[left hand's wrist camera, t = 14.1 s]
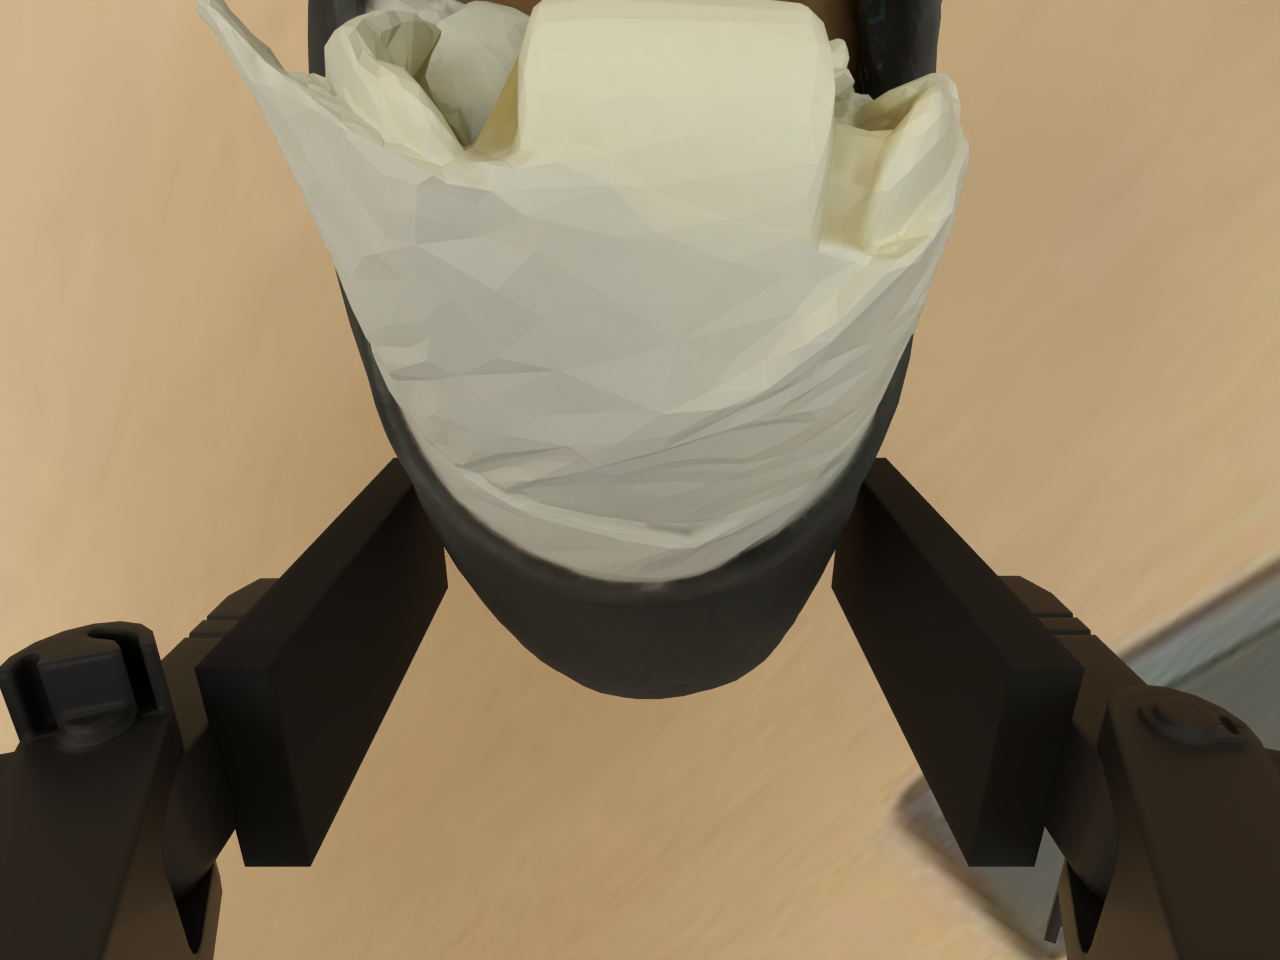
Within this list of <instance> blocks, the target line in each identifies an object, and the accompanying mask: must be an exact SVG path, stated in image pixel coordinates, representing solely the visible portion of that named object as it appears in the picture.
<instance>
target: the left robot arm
mask: <svg viewBox="0 0 1280 960" xmlns="http://www.w3.org/2000/svg"><path fill="white" fill-rule="evenodd" d="M447 588H448V582H447V572H446V563H445V553H444V546H443V544H442V542H441V541H440V539H439V538H438V536H437V534H436V533H435V531H434V529H433V527H432V525H431V523H430V521H429V520H428V518H427V516H426V514H425V512H424V510H423V508H422V506H421V504H420V502H419V499H418V496H417V493H416V491H415V488H414V485H413V483H412V481H411V479H410V477H409V476H408V474H407V472H406V471H405V469H404V468H403V466H402V464H401V463H400V461H399V459H398V458H393V459H392V460H391V461H390V462H389V463H388V464H387V466H386V467H385V468H384V469H383V470H382V471H381V472H380V473H379V474H378V475H377V476H376V477H375V478H374V479H373V480H372V481H371V482H370V483H369V484H368V486H367V487H366V488H365V489H364V490H363V491H362V492H361V493H360V494H359V495H358V496H357V497H356V498H355V499H354V500H353V501H352V502H351V503H350V504H349V506H348V507H347V508H346V509H345V510H344V511H343V512H342V513H341V514H340V515H339V516H338V517H337V518H336V519H335V520H334V521H333V522H332V523H331V524H330V526H329V527H328V528H327V529H326V530H325V531H324V532H323V533H322V534H321V535H320V536H319V537H318V538H317V539H316V540H315V541H314V542H313V543H312V545H311V546H310V547H309V548H308V549H307V550H306V551H305V552H304V553H303V554H302V555H301V556H300V557H299V558H298V559H297V560H296V561H295V562H294V563H293V565H292V566H291V567H290V568H289V569H288V570H287V571H286V572H285V573H284V574H283V575H282V576H281V577H280V578H260V579H258V580H256V581H255V582H253V583H251V584H249V585H247V586H245V587H244V588H242V589H240V590H238V591H236V592H234V593H233V594H231V595H229V596H228V597H227V598H226V599H225V600H224V601H222V602H221V603H220V604H219V605H218V606H217V607H216V608H215V609H214V610H213V611H212V612H211V613H210V614H209V615H208V616H207V620H203V621H202V622H201V623H200V624H199V625H198V626H197V627H196V628H194V629H193V630H192V631H191V632H190V636H189V638H184V639H183V640H182V641H181V642H180V643H179V644H178V645H177V646H176V647H175V648H174V649H173V650H172V651H171V652H170V653H169V654H168V655H167V656H165V657H164V658H163V659H162V660H161V659H160V656H159V652H158V649H157V645H156V641H155V638H154V634H153V631H152V630H150V629H148V628H147V627H145V626H144V625H142V624H138V623H130V622H122V621H118V622H108V623H97V624H91V625H87V626H83V627H79V628H75V629H71V630H67V631H63V632H60V633H58V634H55V635H53V636H50V637H48V638H45V639H43V640H40V641H37V642H35V643H33V644H31V645H30V646H28V647H26V648H25V649H23V650H21V651H19V652H18V653H16V654H14V655H12V656H11V657H9V658H8V659H7V660H6V661H5V662H4V663H3V664H2V665H1V666H0V689H1V692H2V694H3V697H4V700H5V703H6V705H7V708H8V711H9V713H10V716H11V719H12V721H13V724H14V727H15V729H16V732H17V735H18V738H19V740H20V743H19V744H18V746H17V748H16V750H15V752H11V753H6V754H0V960H213V956H214V949H215V942H216V934H217V927H218V919H219V912H220V904H221V897H222V887H221V880H220V875H219V871H218V867H217V864H216V858H217V857H218V855H219V853H220V852H221V850H222V849H223V847H224V846H225V844H226V843H227V841H228V839H229V838H230V836H231V835H232V833H233V832H234V830H235V829H236V833H237V837H238V841H239V845H240V849H241V853H242V857H243V861H244V865H245V867H310V866H311V864H312V862H313V860H314V858H315V856H316V854H317V852H318V850H319V848H320V846H321V844H322V842H323V840H324V838H325V836H326V834H327V832H328V830H329V828H330V826H331V824H332V822H333V820H334V818H335V816H336V814H337V812H338V810H339V808H340V806H341V804H342V802H343V800H344V797H345V795H346V793H347V791H348V789H349V787H350V785H351V783H352V781H353V779H354V777H355V775H356V773H357V771H358V769H359V767H360V765H361V763H362V761H363V759H364V757H365V755H366V753H367V751H368V749H369V747H370V745H371V743H372V741H373V739H374V737H375V735H376V733H377V731H378V728H379V726H380V724H381V722H382V720H383V718H384V716H385V714H386V712H387V710H388V708H389V706H390V704H391V702H392V700H393V698H394V696H395V694H396V692H397V690H398V688H399V686H400V684H401V682H402V680H403V678H404V676H405V674H406V672H407V670H408V668H409V666H410V664H411V662H412V659H413V657H414V655H415V653H416V651H417V649H418V647H419V645H420V643H421V641H422V639H423V637H424V635H425V633H426V631H427V629H428V627H429V625H430V623H431V621H432V619H433V617H434V615H435V613H436V611H437V609H438V607H439V605H440V603H441V601H442V599H443V597H444V595H445V593H446V590H447ZM832 589H833V591H834V593H835V596H836V598H837V600H838V602H839V604H840V606H841V608H842V610H843V612H844V614H845V616H846V618H847V620H848V622H849V624H850V626H851V628H852V630H853V632H854V634H855V636H856V638H857V640H858V642H859V644H860V646H861V648H862V650H863V652H864V654H865V656H866V658H867V660H868V663H869V665H870V667H871V669H872V671H873V673H874V675H875V677H876V679H877V681H878V683H879V685H880V687H881V689H882V691H883V693H884V695H885V697H886V699H887V701H888V703H889V705H890V707H891V709H892V711H893V713H894V715H895V717H896V719H897V721H898V723H899V725H900V727H901V730H902V732H903V734H904V736H905V738H906V740H907V742H908V744H909V746H910V748H911V750H912V752H913V754H914V756H915V758H916V760H917V762H918V764H919V766H920V768H921V770H922V772H923V774H924V776H925V778H926V780H927V782H928V784H929V786H930V788H931V790H932V792H933V794H934V797H935V799H936V801H937V803H938V805H939V807H940V809H941V811H942V813H943V815H944V817H945V819H946V821H947V823H948V825H949V827H950V829H951V831H952V833H953V835H954V837H955V839H956V841H957V843H958V845H959V847H960V849H961V851H962V853H963V855H964V857H965V859H966V861H967V864H968V866H969V867H1034V866H1035V862H1036V858H1037V854H1038V850H1039V847H1040V843H1041V839H1042V835H1043V831H1044V827H1046V829H1047V830H1048V832H1049V833H1050V835H1051V836H1052V838H1053V839H1054V841H1055V843H1056V844H1057V846H1058V847H1059V849H1060V850H1061V852H1062V853H1063V855H1064V856H1065V860H1064V864H1063V867H1062V871H1061V875H1060V878H1059V882H1058V886H1057V889H1056V893H1055V896H1054V900H1053V904H1052V907H1051V911H1050V915H1049V918H1048V922H1047V927H1046V933H1045V939H1044V940H1046V941H1049V942H1052V943H1056V940H1057V936H1058V933H1059V929H1060V927H1061V926H1063V932H1064V939H1065V947H1066V954H1067V960H1280V751H1277V750H1272V749H1267V748H1264V747H1263V745H1262V743H1261V741H1260V740H1259V739H1258V737H1257V736H1256V735H1255V734H1254V733H1253V732H1252V730H1251V729H1250V728H1249V727H1248V726H1247V725H1246V724H1245V723H1244V722H1242V721H1241V720H1239V719H1238V718H1237V717H1235V716H1234V715H1232V714H1231V713H1229V712H1228V711H1226V710H1225V709H1223V708H1222V707H1219V706H1217V705H1215V704H1213V703H1211V702H1208V701H1206V700H1204V699H1202V698H1200V697H1198V696H1195V695H1192V694H1189V693H1185V692H1182V691H1178V690H1175V689H1171V688H1167V687H1160V686H1150V685H1147V684H1146V683H1145V682H1144V681H1143V680H1142V679H1141V678H1140V677H1139V676H1138V675H1136V674H1135V673H1134V672H1133V671H1132V670H1131V669H1130V668H1129V667H1128V666H1127V665H1126V664H1125V663H1124V662H1123V661H1122V660H1121V659H1120V658H1119V657H1118V656H1117V655H1116V654H1115V653H1114V652H1112V651H1111V650H1110V649H1109V648H1108V647H1107V646H1106V645H1105V644H1104V643H1103V642H1102V641H1101V640H1100V639H1099V638H1098V637H1097V636H1096V635H1091V633H1090V632H1091V630H1090V629H1088V628H1087V627H1086V626H1085V625H1084V624H1083V623H1082V622H1081V621H1080V620H1079V619H1078V618H1073V613H1072V612H1071V611H1070V610H1069V609H1068V608H1067V607H1065V606H1064V605H1063V604H1062V603H1061V602H1060V601H1059V600H1058V599H1057V598H1056V597H1055V596H1054V595H1053V594H1052V593H1050V592H1048V591H1047V590H1045V589H1043V588H1041V587H1039V586H1037V585H1036V584H1034V583H1032V582H1030V581H1028V580H1026V579H1024V578H1023V577H1021V576H997V575H996V574H995V572H994V571H993V570H992V569H991V568H990V567H989V566H988V565H987V564H986V563H985V562H984V561H983V560H982V559H981V558H980V557H979V556H978V555H977V554H976V552H975V551H974V550H973V549H972V548H971V547H970V546H969V545H968V544H967V543H966V542H965V541H964V540H963V539H962V538H961V537H960V536H959V535H958V534H957V532H956V531H955V530H954V529H953V528H952V527H951V526H950V525H949V524H948V523H947V522H946V521H945V520H944V519H943V518H942V517H941V516H940V515H939V513H938V512H937V511H936V510H935V509H934V508H933V507H932V506H931V505H930V504H929V503H928V502H927V501H926V500H925V499H924V498H923V497H922V496H921V495H920V493H919V492H918V491H917V490H916V489H915V488H914V487H913V486H912V485H911V484H910V483H909V482H908V481H907V480H906V479H905V478H904V477H903V476H902V474H901V473H900V472H899V471H898V470H897V469H896V468H895V467H894V466H893V465H892V464H891V463H890V462H889V461H888V460H887V459H886V458H875V460H874V462H873V464H872V467H871V468H870V470H869V472H868V473H867V475H866V477H865V479H864V480H863V482H862V485H861V488H860V491H859V494H858V497H857V500H856V503H855V506H854V509H853V512H852V514H851V517H850V520H849V522H848V523H847V525H846V527H845V529H844V531H843V533H842V536H841V538H840V540H839V542H838V544H837V546H836V549H835V558H834V568H833V577H832Z"/></svg>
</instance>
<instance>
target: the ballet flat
mask: <svg viewBox="0 0 1280 960" xmlns="http://www.w3.org/2000/svg"><path fill="white" fill-rule="evenodd" d="M941 2H942V0H309V2H308V57H309V74H308V75H305V74H303V73H296V72H286V71H285V70H284V68H283V67H282V65H281V64H280V63H279V61H278V60H277V58H276V57H275V55H274V54H273V52H272V51H271V49H270V48H269V47H268V46H267V45H265V44H264V43H263V42H262V41H260V40H259V39H258V38H256V37H255V36H254V35H253V34H252V33H251V32H250V31H249V30H248V29H247V28H246V26H245V25H244V24H243V23H242V22H241V21H240V20H239V19H238V18H237V17H236V16H235V15H234V13H233V12H232V11H231V10H230V9H229V8H228V6H227V5H226V3H225V1H224V0H198V2H197V9H196V11H197V12H198V14H199V15H200V16H201V17H202V18H203V19H204V21H205V22H206V23H207V24H208V25H209V27H210V28H211V29H212V30H213V32H214V33H215V35H216V37H217V38H218V40H219V41H220V43H221V44H222V46H223V47H224V49H225V50H226V52H227V53H228V55H229V56H230V58H231V59H232V61H233V62H234V64H235V65H236V67H237V68H238V70H239V72H240V74H241V75H242V77H243V79H244V81H245V83H246V84H247V86H248V88H249V90H250V92H251V93H252V95H253V97H254V99H255V101H256V103H257V104H258V106H259V108H260V110H261V112H262V113H263V115H264V117H265V119H266V121H267V122H268V124H269V126H270V128H271V130H272V132H273V134H274V136H275V138H276V141H277V143H278V145H279V147H280V149H281V151H282V153H283V156H284V158H285V160H286V162H287V164H288V166H289V168H290V171H291V173H292V175H293V177H294V179H295V181H296V183H297V186H298V188H299V190H300V192H301V194H302V196H303V198H304V201H305V203H306V205H307V207H308V209H309V211H310V213H311V216H312V218H313V220H314V222H315V224H316V226H317V228H318V231H319V233H320V235H321V237H322V239H323V241H324V243H325V245H326V248H327V250H328V252H329V254H330V257H331V259H332V261H333V263H334V266H335V269H336V274H337V277H338V281H339V285H340V288H341V292H342V296H343V300H344V303H345V307H346V311H347V315H348V318H349V322H350V325H351V328H352V331H353V334H354V337H355V340H356V343H357V346H358V349H359V352H360V355H361V358H362V361H363V364H364V367H365V370H366V373H367V376H368V379H369V383H370V387H371V390H372V394H373V398H374V402H375V405H376V408H377V411H378V413H379V416H380V419H381V422H382V424H383V427H384V430H385V432H386V435H387V437H388V439H389V441H390V443H391V445H392V447H393V449H394V451H395V453H396V455H397V457H398V459H399V461H400V463H401V464H402V466H403V468H404V469H405V471H406V472H407V474H408V476H409V477H410V479H411V481H412V483H413V485H414V488H415V491H416V493H417V496H418V499H419V502H420V504H421V506H422V508H423V510H424V512H425V514H426V516H427V518H428V520H429V521H430V523H431V525H432V527H433V529H434V531H435V533H436V534H437V536H438V538H439V539H440V541H441V542H442V544H443V546H444V547H445V549H446V550H447V552H448V554H449V555H450V557H451V559H452V560H453V562H454V563H455V565H456V567H457V568H458V570H459V571H460V572H461V573H462V575H463V576H464V577H465V579H466V580H467V581H468V583H469V584H470V585H471V587H472V588H473V589H474V591H475V592H476V593H477V595H478V596H479V597H480V599H481V600H482V601H483V603H484V604H485V605H486V606H487V608H488V609H489V610H490V611H491V612H492V613H493V615H494V616H495V617H496V618H497V619H498V621H499V622H500V623H501V624H502V625H503V626H504V627H505V628H506V629H508V630H509V631H510V632H511V633H512V634H513V635H514V636H515V637H516V638H517V640H518V641H519V642H520V643H521V644H522V645H523V646H524V647H525V648H526V649H528V650H529V651H530V652H531V653H532V654H534V655H535V656H536V657H537V658H538V659H539V660H540V661H542V662H543V663H545V664H547V665H548V666H550V667H552V668H553V669H555V670H556V671H558V672H560V673H562V674H564V675H566V676H567V677H569V678H571V679H573V680H574V681H576V682H578V683H579V684H581V685H583V686H585V687H587V688H590V689H592V690H595V691H597V692H600V693H604V694H609V695H614V696H620V697H625V698H634V699H663V698H671V697H679V696H686V695H689V694H693V693H697V692H701V691H705V690H710V689H713V688H716V687H719V686H722V685H725V684H728V683H731V682H733V681H736V680H738V679H739V678H741V677H742V676H744V675H745V674H747V673H748V672H750V671H751V670H753V669H754V668H755V667H757V666H758V665H759V664H761V663H762V662H763V661H765V659H766V658H767V657H768V656H769V655H770V654H771V653H772V651H773V650H774V649H775V648H776V647H777V645H778V644H779V643H780V642H781V640H782V639H783V637H784V635H785V634H786V633H787V631H788V630H789V629H790V628H791V626H792V625H793V624H794V622H795V620H796V618H797V616H798V615H799V613H800V611H801V610H802V608H803V607H804V605H805V603H806V602H807V600H808V598H809V596H810V595H811V593H812V591H813V590H814V588H815V586H816V585H817V583H818V581H819V579H820V578H821V576H822V574H823V572H824V570H825V568H826V566H827V564H828V562H829V560H830V558H831V556H832V554H833V553H834V551H835V548H836V546H837V544H838V542H839V540H840V538H841V536H842V533H843V531H844V529H845V527H846V525H847V523H848V522H849V520H850V517H851V514H852V512H853V509H854V506H855V503H856V500H857V497H858V494H859V491H860V488H861V485H862V482H863V480H864V479H865V477H866V475H867V473H868V472H869V470H870V468H871V467H872V464H873V462H874V460H875V458H876V456H877V453H878V451H879V449H880V447H881V445H882V442H883V440H884V438H885V435H886V433H887V430H888V428H889V425H890V423H891V420H892V418H893V415H894V413H895V410H896V408H897V405H898V403H899V399H900V395H901V391H902V387H903V383H904V379H905V375H906V371H907V367H908V363H909V359H910V354H911V347H912V341H913V334H914V331H915V328H916V325H917V322H918V319H919V317H920V314H921V311H922V308H923V305H924V302H925V300H926V297H927V294H928V291H929V288H930V285H931V283H932V280H933V276H934V273H935V270H936V267H937V264H938V261H939V258H940V256H941V254H942V251H943V249H944V247H945V245H946V243H947V241H948V239H949V237H950V234H951V230H952V226H953V222H954V218H955V214H956V210H957V206H958V202H959V199H960V195H961V191H962V187H963V183H964V179H965V175H966V171H967V167H968V163H969V152H970V146H969V144H968V141H967V139H966V137H965V135H964V132H963V130H962V128H961V103H960V99H959V95H958V92H957V88H956V84H955V81H954V80H953V79H952V77H950V76H949V75H947V74H946V73H944V72H942V73H936V58H937V42H938V35H939V28H940V20H941Z"/></svg>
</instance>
